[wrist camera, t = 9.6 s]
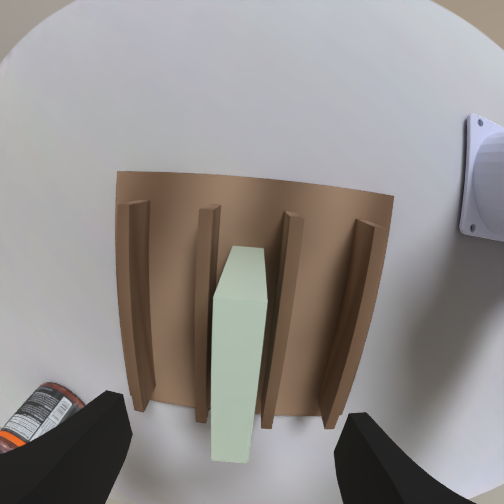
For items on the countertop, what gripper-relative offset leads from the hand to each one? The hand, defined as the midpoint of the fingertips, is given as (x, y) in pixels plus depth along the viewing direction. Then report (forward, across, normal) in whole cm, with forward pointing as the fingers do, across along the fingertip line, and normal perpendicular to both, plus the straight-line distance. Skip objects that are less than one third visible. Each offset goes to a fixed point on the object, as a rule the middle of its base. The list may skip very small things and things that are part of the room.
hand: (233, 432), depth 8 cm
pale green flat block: (+9, 0, 0) cm, 9 cm away
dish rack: (+9, 0, 0) cm, 9 cm away
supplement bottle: (+10, +15, +12) cm, 22 cm away
